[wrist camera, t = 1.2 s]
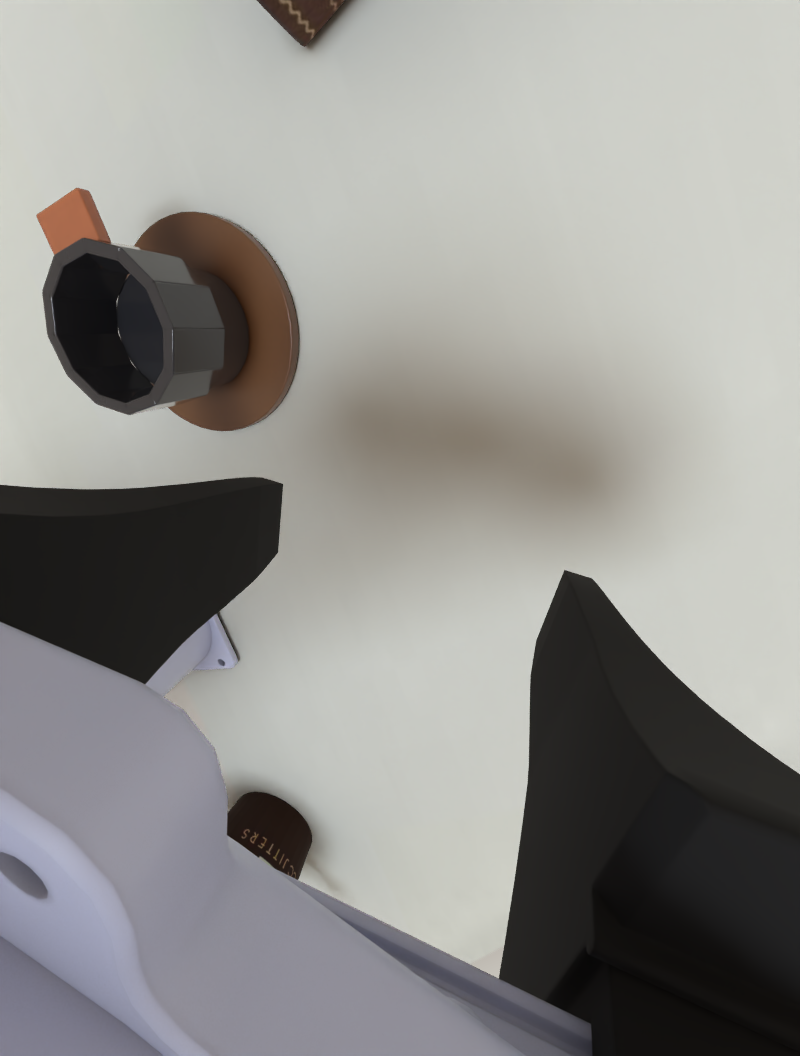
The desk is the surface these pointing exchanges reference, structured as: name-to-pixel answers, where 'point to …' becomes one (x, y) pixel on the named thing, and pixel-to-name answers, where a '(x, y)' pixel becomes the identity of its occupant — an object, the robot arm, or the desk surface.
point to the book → (301, 16)
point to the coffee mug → (270, 831)
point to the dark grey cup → (135, 316)
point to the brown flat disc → (263, 304)
